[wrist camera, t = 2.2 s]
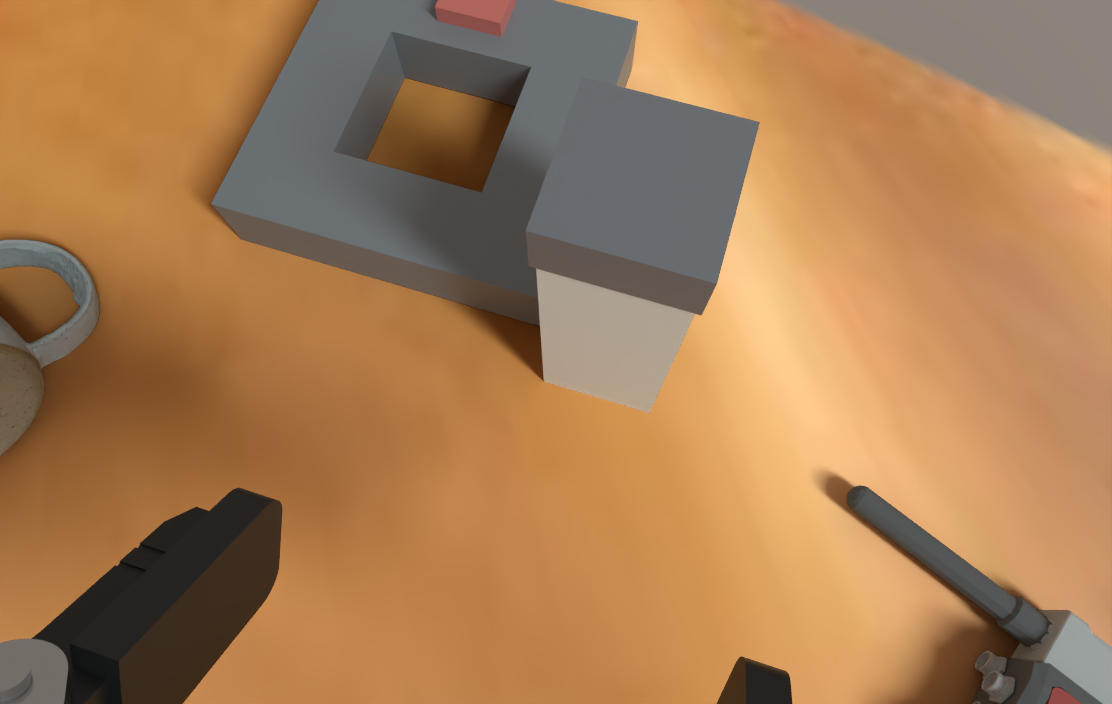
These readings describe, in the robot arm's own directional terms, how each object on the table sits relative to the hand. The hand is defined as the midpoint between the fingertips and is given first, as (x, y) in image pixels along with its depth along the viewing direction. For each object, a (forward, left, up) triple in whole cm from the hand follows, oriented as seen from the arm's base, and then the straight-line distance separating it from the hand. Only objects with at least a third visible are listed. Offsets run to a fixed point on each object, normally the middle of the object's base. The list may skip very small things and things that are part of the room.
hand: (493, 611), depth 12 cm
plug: (0, +11, -16) cm, 19 cm away
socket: (-10, +18, -16) cm, 26 cm away
